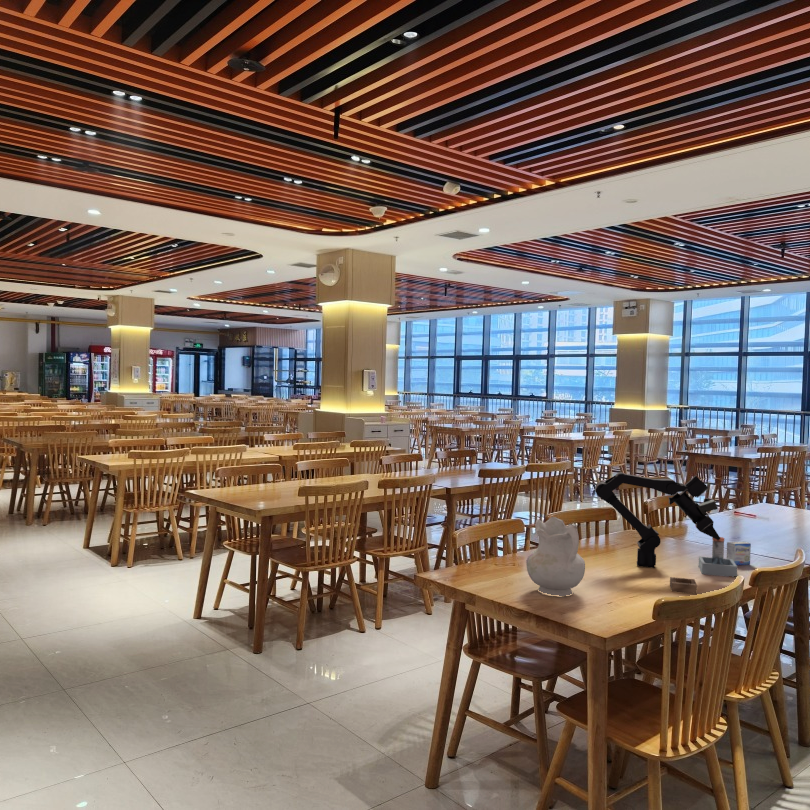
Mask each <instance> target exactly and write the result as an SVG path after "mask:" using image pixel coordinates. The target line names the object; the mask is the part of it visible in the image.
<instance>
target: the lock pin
mask: <svg viewBox="0 0 810 810" xmlns="http://www.w3.org/2000/svg"><path fill="white" fill-rule="evenodd" d="M719 537H720V539H719V540H717V539H715V538H713V537H711V539H712V547H711V551H712V552H711V557H712V564H721V565H723V559H725V558H724V554H725V551H724V550H725V549H724V548H725V538H724V537H723V536H722V537H721V536H719Z"/></svg>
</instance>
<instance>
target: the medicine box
mask: <svg viewBox="0 0 810 810" xmlns="http://www.w3.org/2000/svg"><path fill="white" fill-rule="evenodd" d="M751 548H752V547H751V542H747V541H727V542H726V559H732V560H733V561H734V563H735V564H736V565H737V566H748V565H751V551H752V550H751Z"/></svg>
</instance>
